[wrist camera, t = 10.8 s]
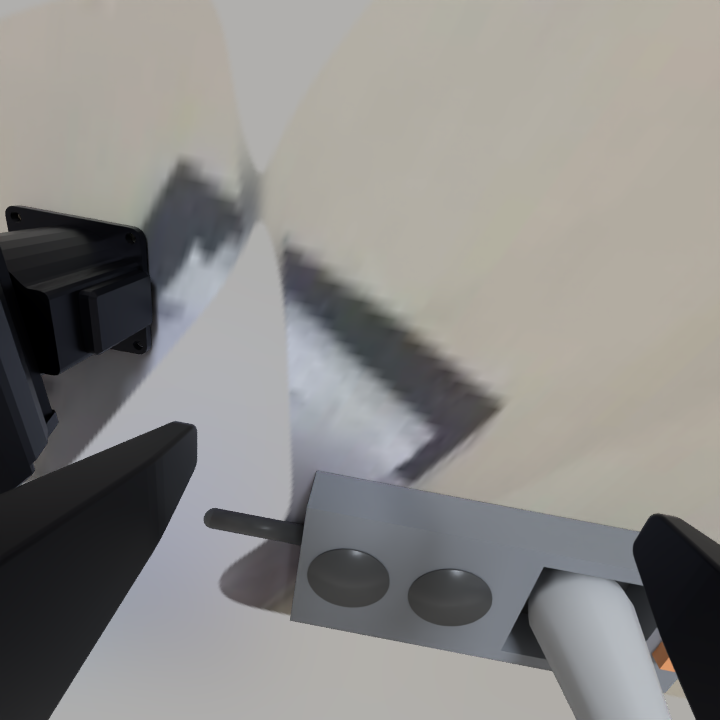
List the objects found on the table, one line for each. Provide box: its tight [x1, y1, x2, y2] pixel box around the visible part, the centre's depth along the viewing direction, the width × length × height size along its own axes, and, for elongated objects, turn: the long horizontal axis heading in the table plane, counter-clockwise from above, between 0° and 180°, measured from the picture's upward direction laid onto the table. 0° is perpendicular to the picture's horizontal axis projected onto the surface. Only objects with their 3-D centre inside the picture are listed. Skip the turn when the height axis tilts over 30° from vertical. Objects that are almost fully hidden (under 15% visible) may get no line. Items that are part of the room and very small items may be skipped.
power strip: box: [204, 471, 678, 693], centre depth 25 cm, size 31×10×4 cm, turn 81°
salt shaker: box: [528, 567, 672, 720], centre depth 20 cm, size 6×6×13 cm
